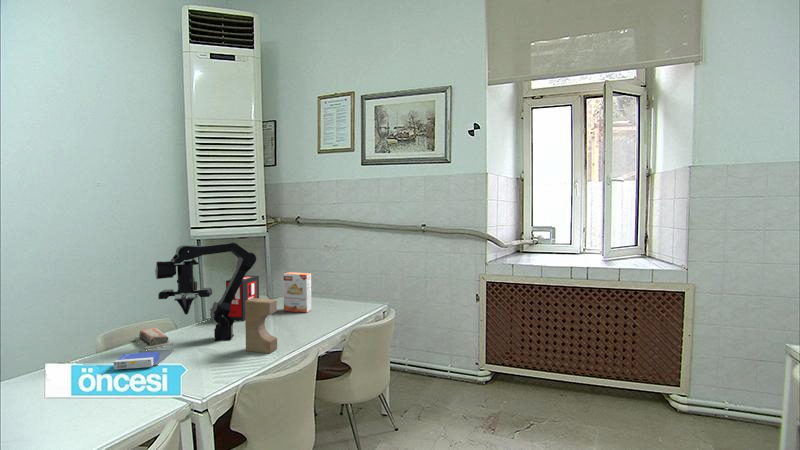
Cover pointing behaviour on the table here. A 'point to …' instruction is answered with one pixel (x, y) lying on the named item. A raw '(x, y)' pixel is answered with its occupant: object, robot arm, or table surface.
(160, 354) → the mat
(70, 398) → the table surface
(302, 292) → the cracker box
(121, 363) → the walkman
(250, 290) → the cleaning product box
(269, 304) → the decorative block
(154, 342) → the packaged product
